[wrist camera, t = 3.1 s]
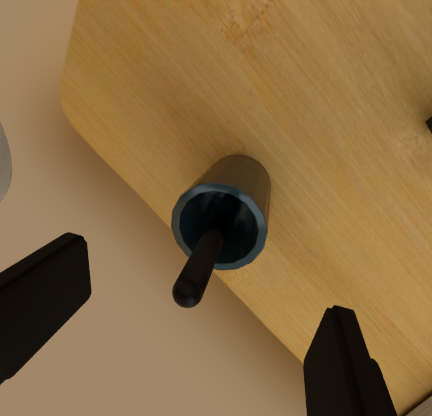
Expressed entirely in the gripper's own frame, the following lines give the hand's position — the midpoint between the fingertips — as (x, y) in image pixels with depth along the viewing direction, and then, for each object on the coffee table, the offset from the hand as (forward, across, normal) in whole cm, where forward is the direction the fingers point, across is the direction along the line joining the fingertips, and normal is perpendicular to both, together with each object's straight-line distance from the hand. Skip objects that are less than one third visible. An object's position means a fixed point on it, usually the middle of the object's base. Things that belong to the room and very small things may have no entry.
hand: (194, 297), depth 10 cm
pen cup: (+13, 0, 0) cm, 13 cm away
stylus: (+13, 0, 0) cm, 13 cm away
